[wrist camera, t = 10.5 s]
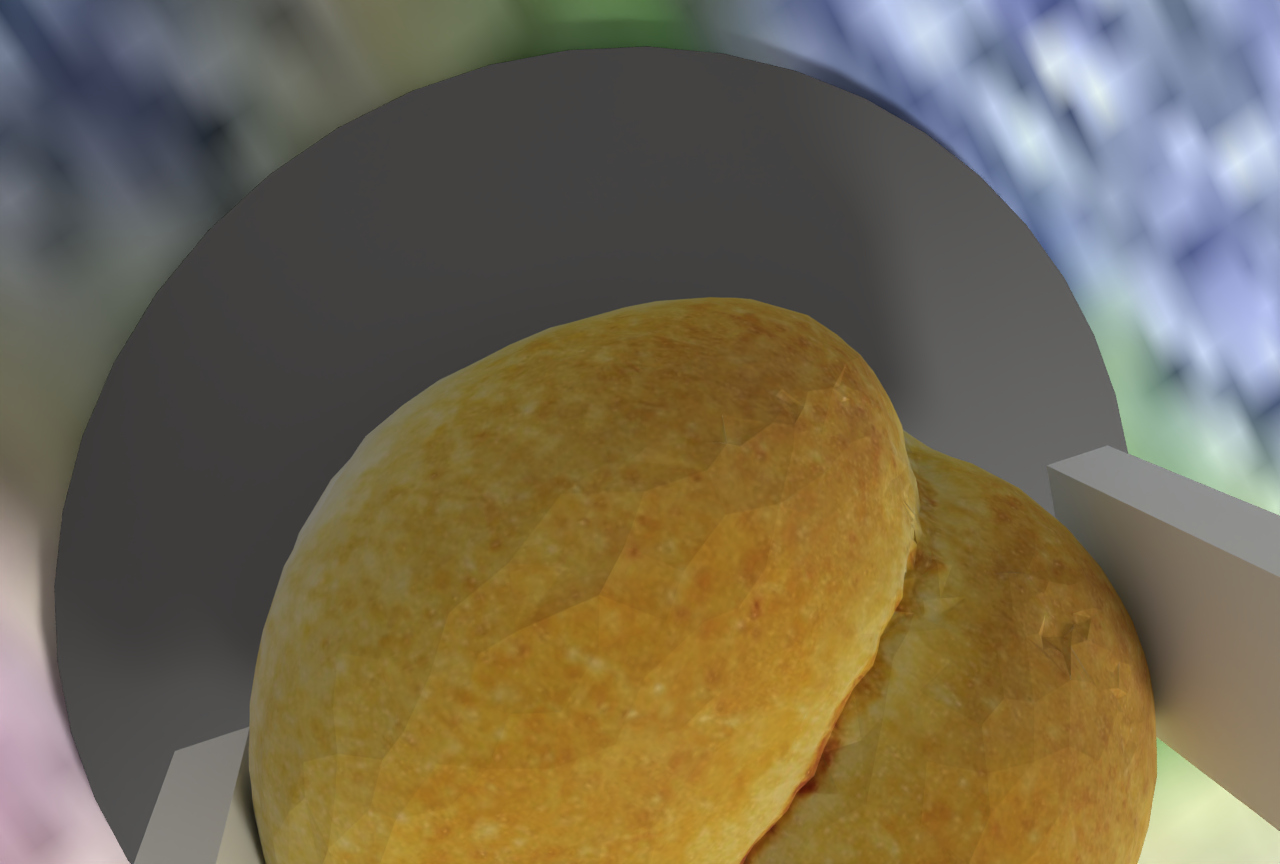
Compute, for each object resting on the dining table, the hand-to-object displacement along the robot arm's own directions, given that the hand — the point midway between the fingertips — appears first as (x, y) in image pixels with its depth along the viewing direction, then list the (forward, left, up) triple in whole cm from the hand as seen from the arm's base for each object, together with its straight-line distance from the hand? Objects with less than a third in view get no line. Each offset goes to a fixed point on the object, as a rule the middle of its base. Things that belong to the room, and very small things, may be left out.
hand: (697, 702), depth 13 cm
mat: (0, 0, -3) cm, 3 cm away
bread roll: (0, 0, -1) cm, 1 cm away
